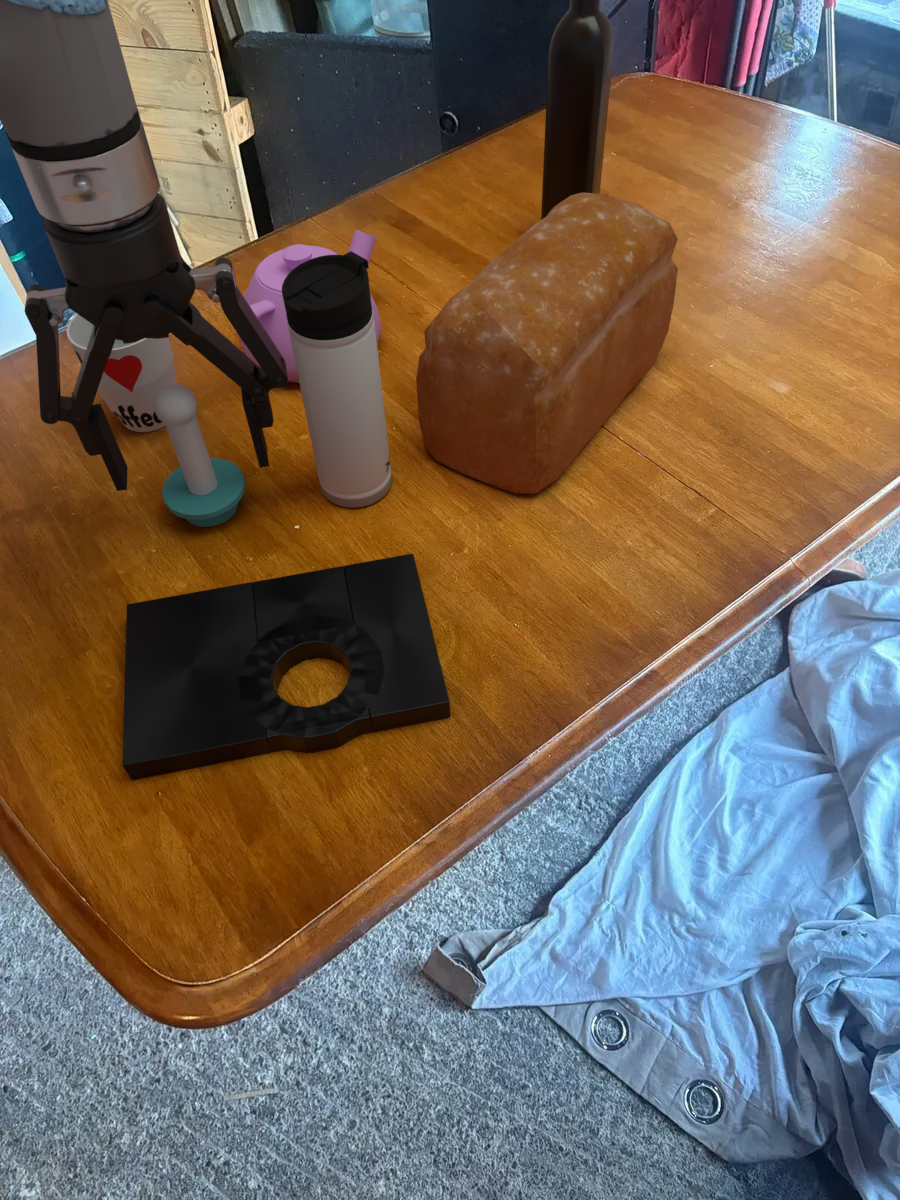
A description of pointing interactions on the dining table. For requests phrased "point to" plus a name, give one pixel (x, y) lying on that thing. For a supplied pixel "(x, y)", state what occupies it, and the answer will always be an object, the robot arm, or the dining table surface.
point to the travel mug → (340, 376)
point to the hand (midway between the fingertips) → (193, 467)
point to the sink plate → (276, 665)
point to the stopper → (195, 464)
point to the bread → (547, 342)
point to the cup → (129, 375)
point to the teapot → (269, 298)
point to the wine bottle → (576, 103)
